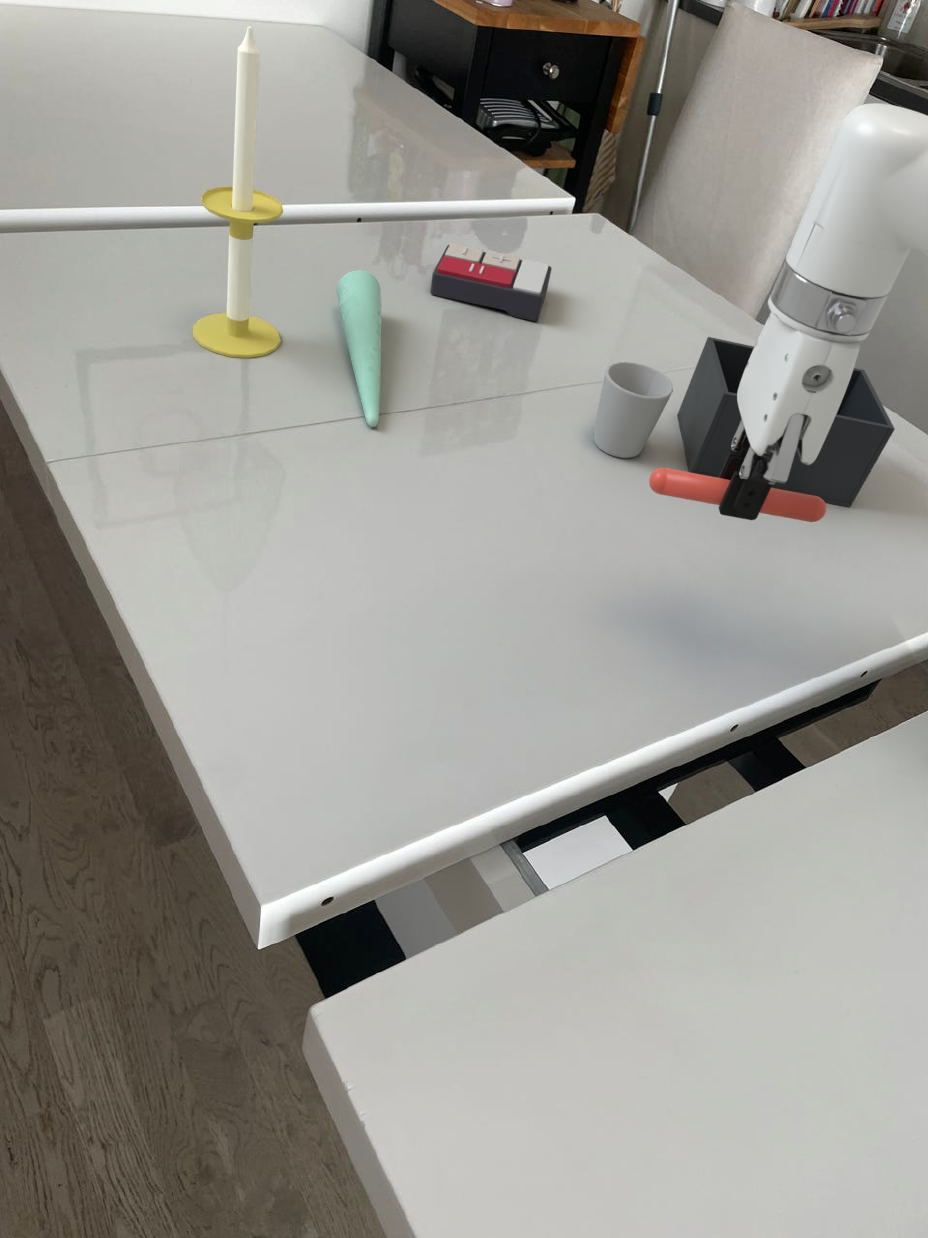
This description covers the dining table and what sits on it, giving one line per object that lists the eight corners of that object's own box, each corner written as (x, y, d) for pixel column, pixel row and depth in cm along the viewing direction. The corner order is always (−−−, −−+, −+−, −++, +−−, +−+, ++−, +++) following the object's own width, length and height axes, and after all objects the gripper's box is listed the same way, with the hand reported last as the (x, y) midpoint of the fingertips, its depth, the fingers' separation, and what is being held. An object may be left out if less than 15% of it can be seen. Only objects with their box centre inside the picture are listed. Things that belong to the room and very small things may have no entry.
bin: (825, 445, 122) (864, 369, 115) (850, 507, 112) (895, 428, 105) (676, 415, 121) (707, 336, 113) (689, 475, 111) (724, 393, 104)
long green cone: (352, 382, 101) (339, 267, 120) (346, 427, 104) (334, 309, 123) (404, 387, 102) (383, 272, 121) (397, 432, 106) (377, 314, 125)
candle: (185, 349, 109) (186, 21, 88) (199, 308, 117) (204, -4, 95) (275, 363, 111) (298, 44, 89) (284, 323, 118) (308, 18, 97)
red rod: (816, 513, 84) (827, 492, 83) (822, 529, 82) (833, 508, 81) (644, 482, 83) (652, 460, 81) (646, 497, 81) (655, 475, 80)
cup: (589, 458, 109) (611, 391, 103) (578, 411, 116) (598, 346, 111) (654, 468, 110) (679, 402, 105) (639, 420, 118) (662, 356, 112)
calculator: (448, 238, 137) (553, 260, 137) (444, 268, 140) (547, 290, 140) (432, 267, 129) (544, 291, 129) (428, 298, 132) (537, 322, 131)
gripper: (907, 361, 65) (795, 573, 77) (849, 264, 77) (760, 461, 89) (798, 339, 64) (702, 556, 76) (757, 245, 76) (680, 446, 88)
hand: (734, 503), depth 82 cm, fingers closed on red rod, 2 cm apart
